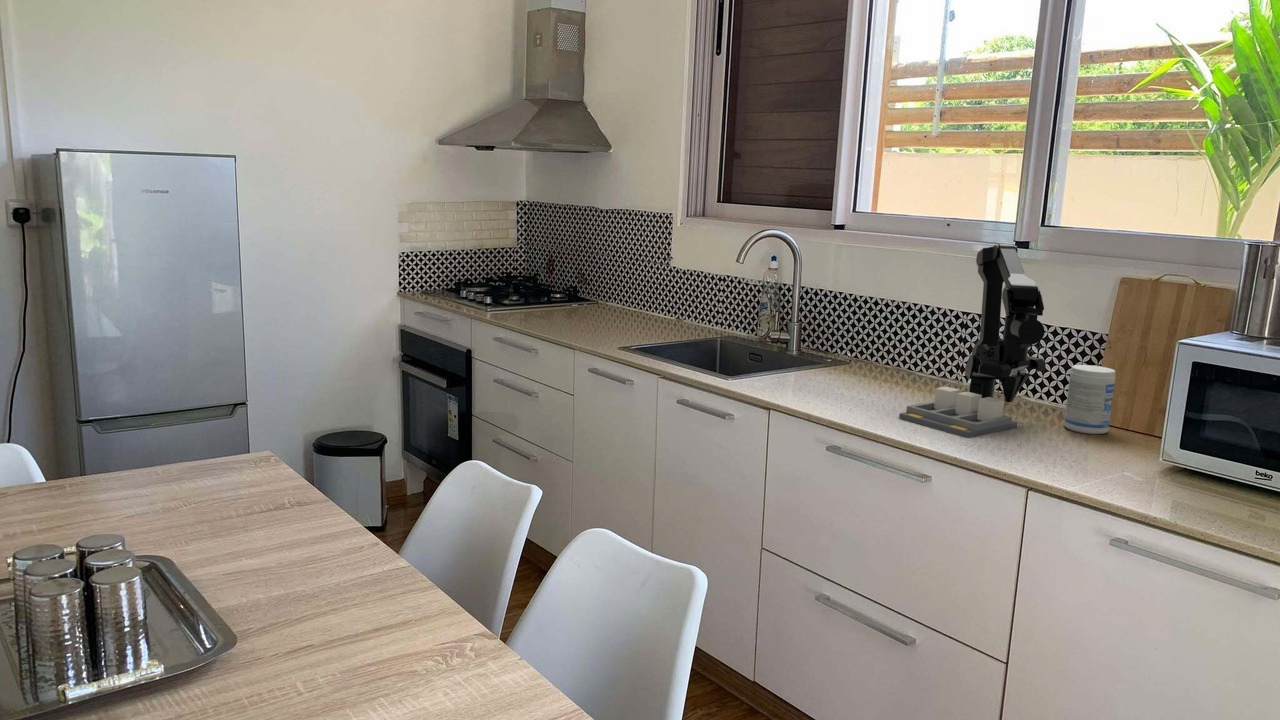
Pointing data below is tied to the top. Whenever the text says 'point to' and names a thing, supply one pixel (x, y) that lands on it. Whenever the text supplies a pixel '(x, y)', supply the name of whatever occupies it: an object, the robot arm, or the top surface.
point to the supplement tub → (1089, 399)
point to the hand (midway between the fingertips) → (1008, 402)
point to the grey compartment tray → (955, 420)
